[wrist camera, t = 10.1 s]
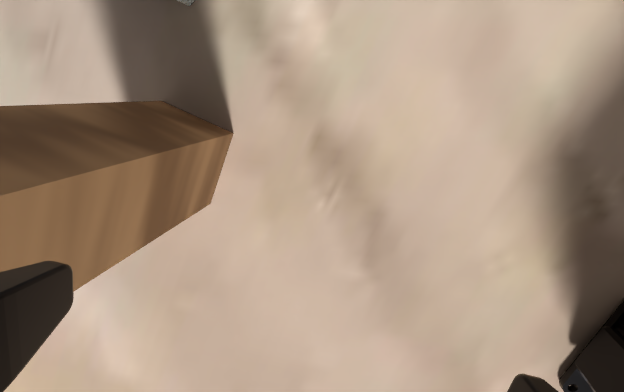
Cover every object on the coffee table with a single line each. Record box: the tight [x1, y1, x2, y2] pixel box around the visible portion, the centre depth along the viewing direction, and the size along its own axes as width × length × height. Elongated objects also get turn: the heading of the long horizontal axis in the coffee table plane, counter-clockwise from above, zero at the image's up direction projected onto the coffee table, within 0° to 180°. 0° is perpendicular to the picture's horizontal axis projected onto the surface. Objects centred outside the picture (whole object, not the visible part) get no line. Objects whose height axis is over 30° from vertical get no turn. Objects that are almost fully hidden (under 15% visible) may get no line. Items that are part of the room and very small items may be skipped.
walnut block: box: [0, 101, 233, 291], centre depth 14 cm, size 4×4×14 cm
